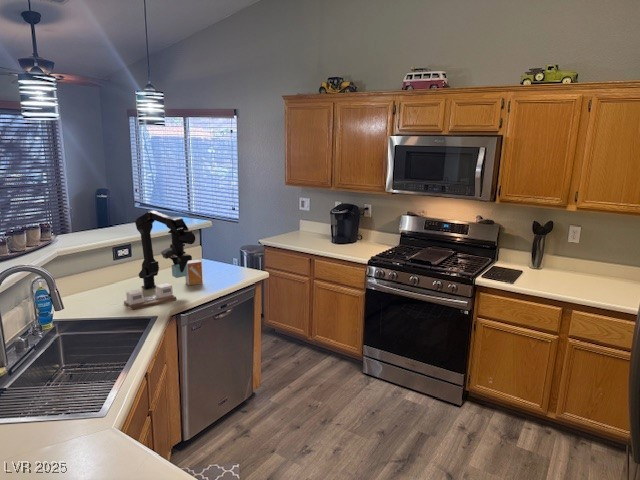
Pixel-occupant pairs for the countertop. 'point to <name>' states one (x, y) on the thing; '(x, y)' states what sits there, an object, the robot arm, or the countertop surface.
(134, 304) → the metal rail
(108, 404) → the countertop surface
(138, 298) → the mounted modules
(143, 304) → the rail board
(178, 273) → the block
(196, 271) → the small box
